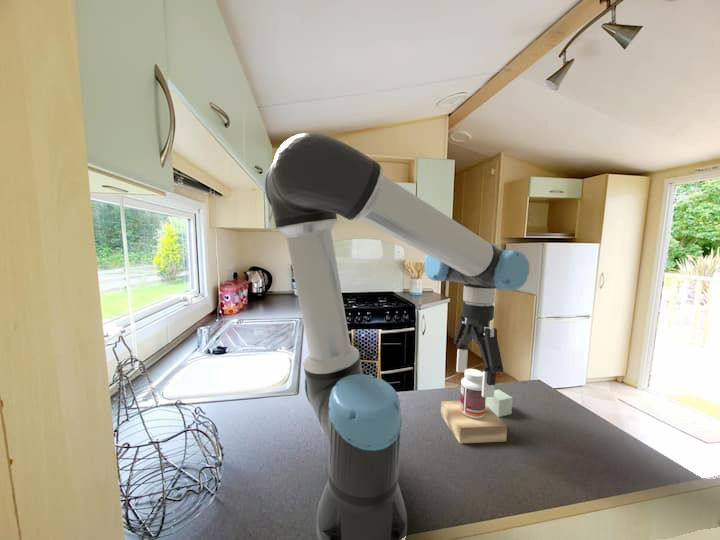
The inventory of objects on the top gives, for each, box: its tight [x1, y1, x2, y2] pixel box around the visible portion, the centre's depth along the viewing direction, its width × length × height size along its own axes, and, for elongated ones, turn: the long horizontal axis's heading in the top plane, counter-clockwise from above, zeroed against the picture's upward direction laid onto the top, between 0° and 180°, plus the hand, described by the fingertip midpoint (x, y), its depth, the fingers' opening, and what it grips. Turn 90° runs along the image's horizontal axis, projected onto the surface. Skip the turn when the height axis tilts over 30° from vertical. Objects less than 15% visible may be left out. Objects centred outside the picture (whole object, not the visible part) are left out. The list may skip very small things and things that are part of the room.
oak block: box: [440, 400, 508, 444], centre depth 75 cm, size 12×12×4 cm
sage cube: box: [485, 389, 514, 418], centre depth 83 cm, size 5×5×5 cm
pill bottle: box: [459, 368, 486, 419], centre depth 74 cm, size 6×6×11 cm
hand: (473, 383), depth 74 cm, fingers open, 13 cm apart
